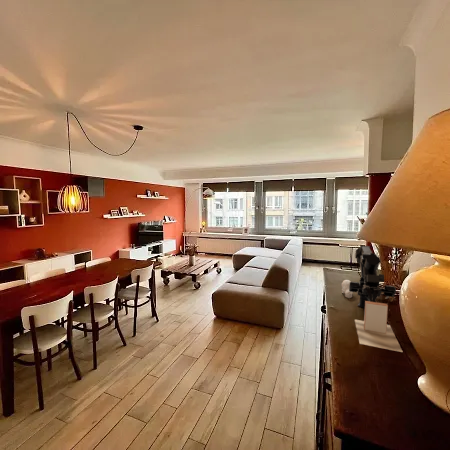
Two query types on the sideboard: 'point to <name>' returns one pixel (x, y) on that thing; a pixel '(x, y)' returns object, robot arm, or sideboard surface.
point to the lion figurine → (388, 296)
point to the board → (377, 337)
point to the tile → (375, 316)
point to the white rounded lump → (346, 288)
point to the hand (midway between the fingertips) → (372, 305)
